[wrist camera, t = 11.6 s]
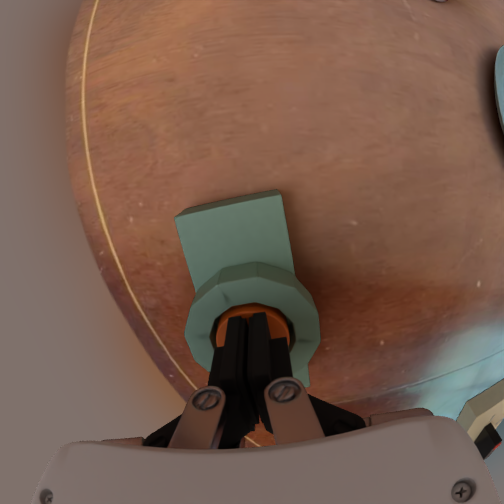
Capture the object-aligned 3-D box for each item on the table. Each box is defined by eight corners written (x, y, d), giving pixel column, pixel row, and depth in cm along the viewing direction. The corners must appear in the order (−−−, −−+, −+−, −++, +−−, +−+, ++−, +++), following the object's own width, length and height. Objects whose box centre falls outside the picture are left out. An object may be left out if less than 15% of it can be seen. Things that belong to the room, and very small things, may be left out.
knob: (479, 439, 21) (489, 457, 17) (472, 443, 21) (482, 462, 17) (491, 422, 20) (503, 441, 16) (484, 426, 20) (496, 446, 16)
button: (290, 341, 14) (294, 362, 13) (228, 351, 14) (226, 372, 13) (280, 286, 13) (284, 305, 11) (212, 299, 13) (206, 317, 12)
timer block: (314, 363, 18) (325, 405, 14) (226, 376, 18) (222, 419, 14) (289, 186, 14) (302, 197, 10) (174, 211, 14) (147, 230, 11)
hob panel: (485, 422, 24) (492, 434, 21) (439, 448, 25) (446, 462, 22) (514, 371, 20) (525, 384, 17) (466, 401, 21) (477, 418, 18)
